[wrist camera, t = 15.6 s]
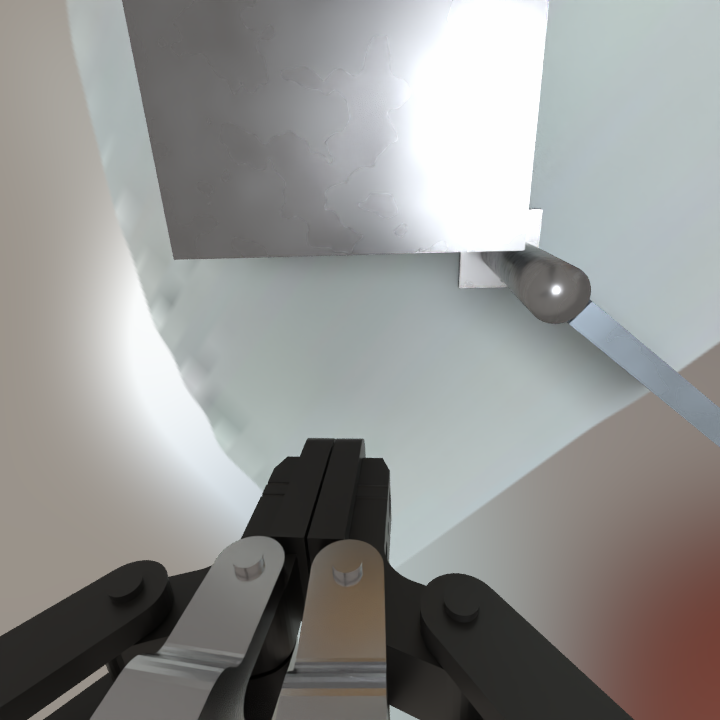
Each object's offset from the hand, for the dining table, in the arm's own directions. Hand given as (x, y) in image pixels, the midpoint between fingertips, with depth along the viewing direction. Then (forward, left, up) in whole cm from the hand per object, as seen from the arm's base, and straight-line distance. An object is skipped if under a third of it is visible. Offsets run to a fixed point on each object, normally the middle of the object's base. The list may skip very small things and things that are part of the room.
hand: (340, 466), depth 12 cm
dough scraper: (+11, +8, -20) cm, 24 cm away
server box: (-4, +6, -21) cm, 22 cm away
